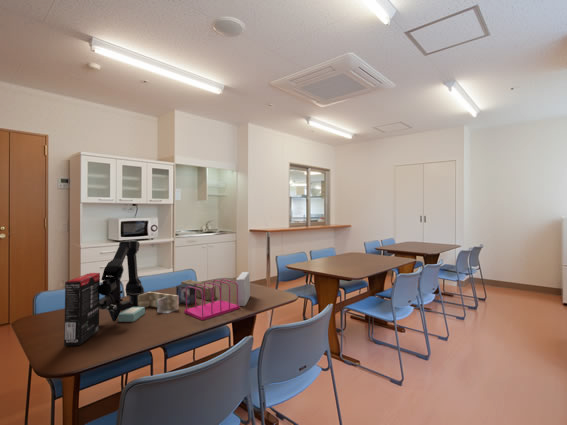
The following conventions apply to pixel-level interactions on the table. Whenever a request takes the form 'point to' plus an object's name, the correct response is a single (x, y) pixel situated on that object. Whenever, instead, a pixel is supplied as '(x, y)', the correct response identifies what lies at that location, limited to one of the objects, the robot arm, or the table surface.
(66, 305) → the graphics card box
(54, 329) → the table surface
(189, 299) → the small box
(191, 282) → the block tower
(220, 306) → the file sorter
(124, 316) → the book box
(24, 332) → the table surface
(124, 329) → the table surface
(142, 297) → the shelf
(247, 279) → the skincare box
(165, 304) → the bookend
